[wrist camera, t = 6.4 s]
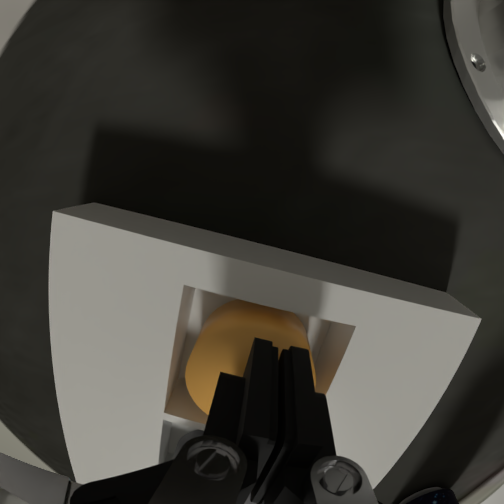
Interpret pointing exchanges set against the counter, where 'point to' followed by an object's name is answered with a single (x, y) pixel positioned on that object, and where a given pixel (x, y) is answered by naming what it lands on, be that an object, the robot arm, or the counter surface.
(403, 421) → the panel
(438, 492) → the beverage can
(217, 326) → the orange button
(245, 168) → the counter surface
